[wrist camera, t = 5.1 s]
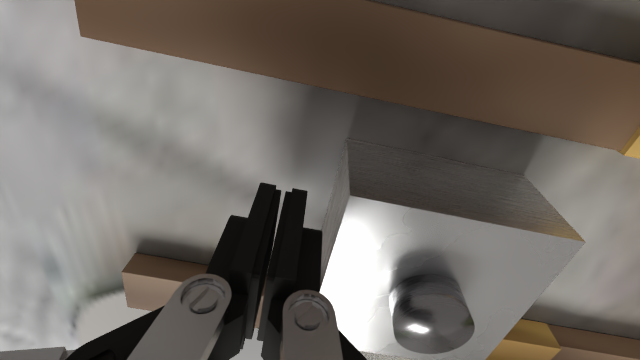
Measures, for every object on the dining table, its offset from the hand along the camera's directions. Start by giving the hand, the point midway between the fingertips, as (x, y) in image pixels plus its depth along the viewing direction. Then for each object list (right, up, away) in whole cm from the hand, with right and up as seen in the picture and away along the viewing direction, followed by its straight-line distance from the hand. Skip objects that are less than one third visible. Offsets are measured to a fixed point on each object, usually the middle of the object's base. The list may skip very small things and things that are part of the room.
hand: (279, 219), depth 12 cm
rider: (+5, 0, +3) cm, 6 cm away
